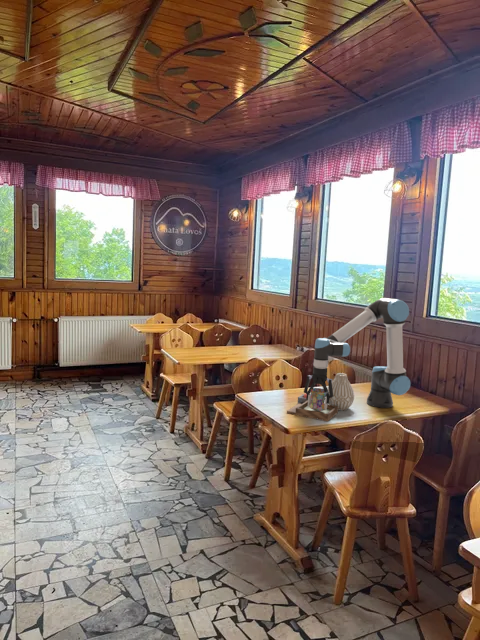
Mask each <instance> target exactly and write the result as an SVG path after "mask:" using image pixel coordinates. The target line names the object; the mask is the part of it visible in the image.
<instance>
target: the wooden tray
mask: <svg viewBox="0 0 480 640" xmlns="http://www.w3.org/2000/svg"><path fill="white" fill-rule="evenodd" d="M311 403H312V401H311ZM338 412H339V410H338V406H333V405H329V404H327V409H326V410H323V411H316V410H313V409H311V408H310V406H309V407H308V401H306V402H304V403H303V404H301V403H298V402H297V404H295V405H293V406H292V407H290V408H289V409H287V410H286V414H290V415H294V414H295V415H294V416H299V417H300V416H301V417H304V418H309V419H314V420H320V421H324V422H329V421H330V420H331V419H333V417H335V416H336V415H337V414H338Z"/></svg>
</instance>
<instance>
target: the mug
mask: <svg viewBox="0 0 480 640" xmlns="http://www.w3.org/2000/svg"><path fill="white" fill-rule="evenodd" d="M327 393H328V392H326V393H325V392H324V389H323V388H321V387H320V388H319V387H314V388H313V389H311V392H310V394H311V396H312V403H311V405H310V408H311V409H313V410H316V411H323V410H324V406H325V398H326V394H327Z"/></svg>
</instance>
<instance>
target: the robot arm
mask: <svg viewBox="0 0 480 640" xmlns="http://www.w3.org/2000/svg"><path fill="white" fill-rule="evenodd" d="M409 315H410V308H409V305H408V304H407V302H405V301H404V300H401V299H398V298H388V297H381V298H379V299H377V300H375V301H373V302H372V303H370V304H369V305H368V306H366V307H365V308H364V311H362V312H361V313H359V314H358V315H357V316H356V317H353V318H352V319H351V320H350V321H349V322H347V323H346V324H345V325H343V326H342V327H340V328H339V329H338V330H337V331H335V332H333V333H332V334H330V335H329V336H328V337H323V338H322V337H319V338H316V339H315V343H314V356H313V367H312V374H311V375H310V374H309V375H307V376H306V383H305V385H304V389H303V394H307V398H306V399H307V400H308V407H309V406H310V405H311V389H313V388H315V386H316V385H321V387H322V389H324V392H325V393H326V392H328V389H327V388H328V386H329V392H328V393H327V394H326V397H325V402H324V404H325V406H324V410H326V409H327V404H328V405H329V400H330V398H332V397H333V389H332V381H333V378H328V365H329V357H338V358H339V357H340V358H343V357H348V356H349V355H350V353H351V346H350V345H349V343H347V342H346V341H348V340H349V339H350V338H351V337H353V336H355V334H357V333H358V332H360V331H361V330H362V329H364V328H365V327H366V326H368V325H369V324H371V323H373V322H377V321H378V320H380V319H382V320H383V321H382V323H383V325H384V326H385V327H386V328H385V330H386V332H385V333H386V334H385V335H386V366H383V365H382V366H381V365H380V366H379V365H378V366H373V368H372V372H371V384H370V391H369V393H368V396H367V398H366V404H367V405H369V406H371V407H376V408H382V409H388V408H392V407H394V406H393V405H394V402H393V397H392V395H396V396H402V395H405V394H406V393H407V392H408V391H409V390H410V389H411V379H410V378H409V377H408V376H407V370H406V368H404V351H403V350H404V348H403V347H404V345H403V344H404V343H403V342H404V341H403V327H404V325H405V324H406V320H407V318H408V317H409ZM311 380H313V381H312V383H311V385H310V382H311ZM326 381H327V383H326ZM327 384H328V385H327ZM309 386H310V387H309ZM329 394H330V395H329Z"/></svg>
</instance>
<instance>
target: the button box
mask: <svg viewBox="0 0 480 640" xmlns="http://www.w3.org/2000/svg"><path fill="white" fill-rule="evenodd" d="M304 394H305V393H303V394H301V395H299V396H297V404H298V403H301V404H303V403H304V402H306V401H308V400H307V399H306V398H304ZM311 401H312V399H311Z"/></svg>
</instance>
